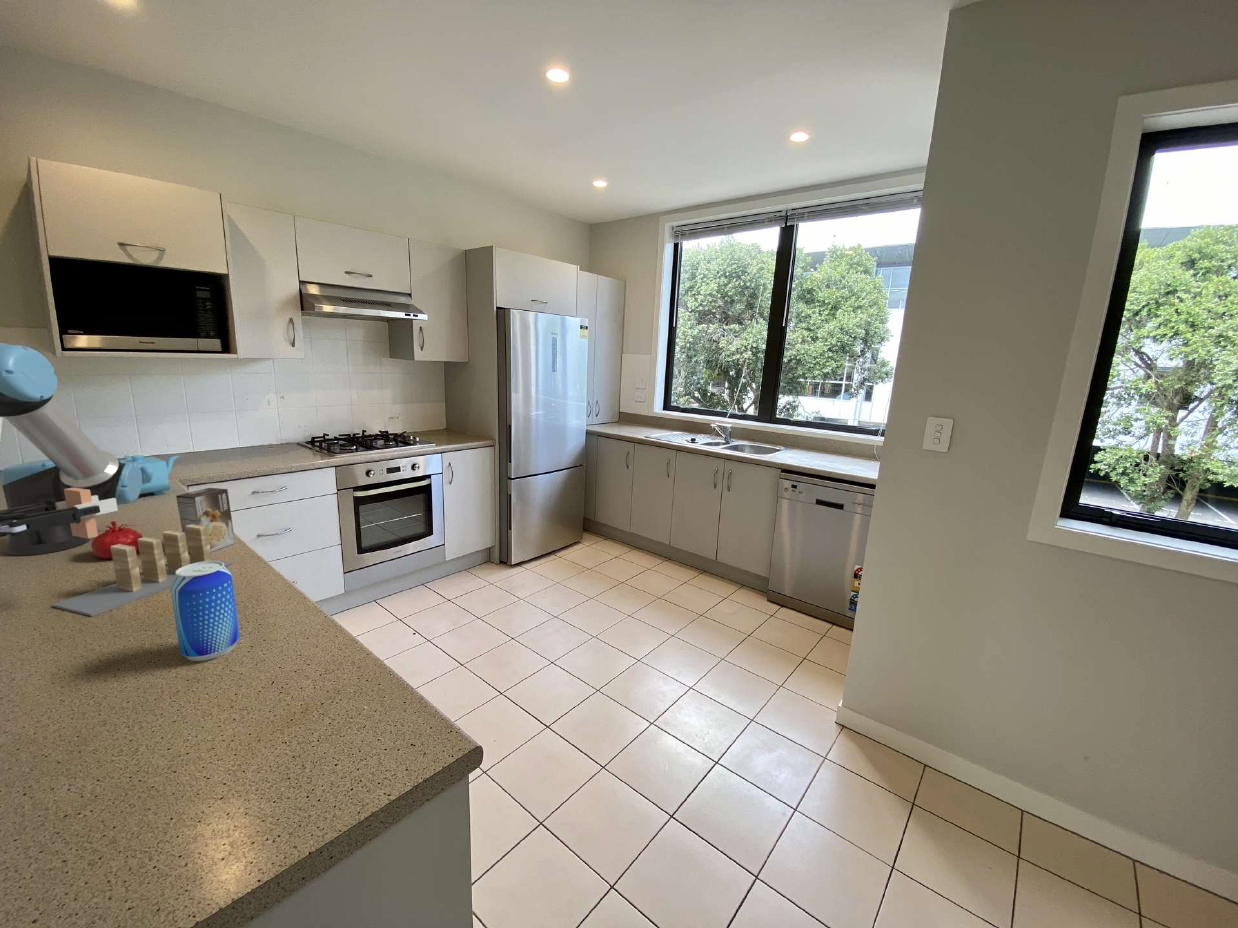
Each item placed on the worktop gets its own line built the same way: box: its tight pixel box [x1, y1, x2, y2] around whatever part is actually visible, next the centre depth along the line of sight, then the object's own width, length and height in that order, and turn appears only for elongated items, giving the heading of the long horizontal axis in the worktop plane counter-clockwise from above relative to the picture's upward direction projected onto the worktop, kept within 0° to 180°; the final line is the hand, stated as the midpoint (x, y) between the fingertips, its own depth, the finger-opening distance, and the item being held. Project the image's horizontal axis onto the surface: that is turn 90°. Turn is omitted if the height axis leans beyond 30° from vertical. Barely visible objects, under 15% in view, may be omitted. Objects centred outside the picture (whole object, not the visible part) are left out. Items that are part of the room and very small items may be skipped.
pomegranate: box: [91, 520, 144, 560], centre depth 130 cm, size 10×10×9 cm
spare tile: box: [64, 488, 99, 539], centre depth 103 cm, size 2×5×10 cm, turn 74°
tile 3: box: [138, 536, 167, 583], centre depth 115 cm, size 2×5×10 cm, turn 74°
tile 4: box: [161, 529, 190, 573], centre depth 120 cm, size 2×5×10 cm, turn 74°
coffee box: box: [175, 487, 236, 554], centre depth 136 cm, size 9×6×16 cm
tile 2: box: [110, 544, 142, 592], centre depth 110 cm, size 2×5×10 cm, turn 74°
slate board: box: [51, 558, 233, 617], centre depth 115 cm, size 12×28×1 cm, turn 164°
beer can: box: [169, 560, 241, 662], centre depth 89 cm, size 8×8×16 cm
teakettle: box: [118, 454, 181, 499], centre depth 184 cm, size 19×19×15 cm
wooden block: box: [185, 524, 212, 564], centre depth 125 cm, size 2×5×10 cm, turn 74°
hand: (106, 502), depth 107 cm, fingers closed on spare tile, 5 cm apart
